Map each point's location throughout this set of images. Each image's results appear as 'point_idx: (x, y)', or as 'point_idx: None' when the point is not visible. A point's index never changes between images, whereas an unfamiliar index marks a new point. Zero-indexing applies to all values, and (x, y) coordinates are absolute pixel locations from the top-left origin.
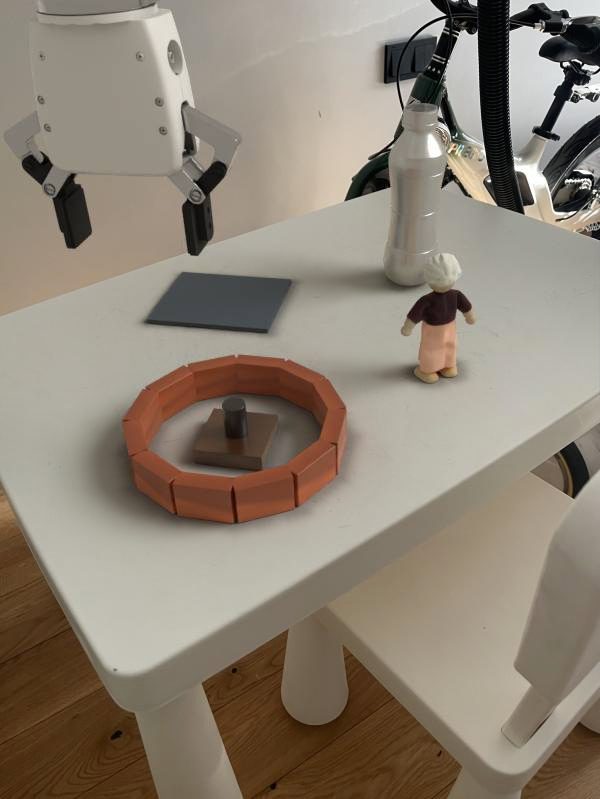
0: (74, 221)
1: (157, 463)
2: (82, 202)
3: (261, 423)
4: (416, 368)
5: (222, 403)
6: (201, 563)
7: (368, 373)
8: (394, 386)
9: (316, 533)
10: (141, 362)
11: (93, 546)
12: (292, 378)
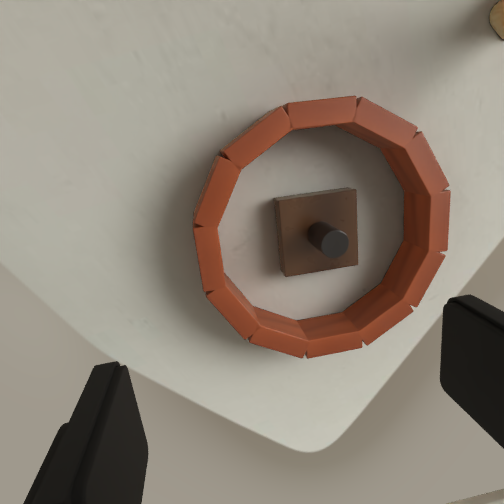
0: (133, 496)
1: (280, 340)
2: (106, 467)
3: (342, 211)
4: (498, 15)
5: (321, 247)
6: (333, 370)
7: (432, 35)
8: (465, 59)
9: (412, 312)
10: (105, 95)
11: (241, 388)
12: (371, 133)
